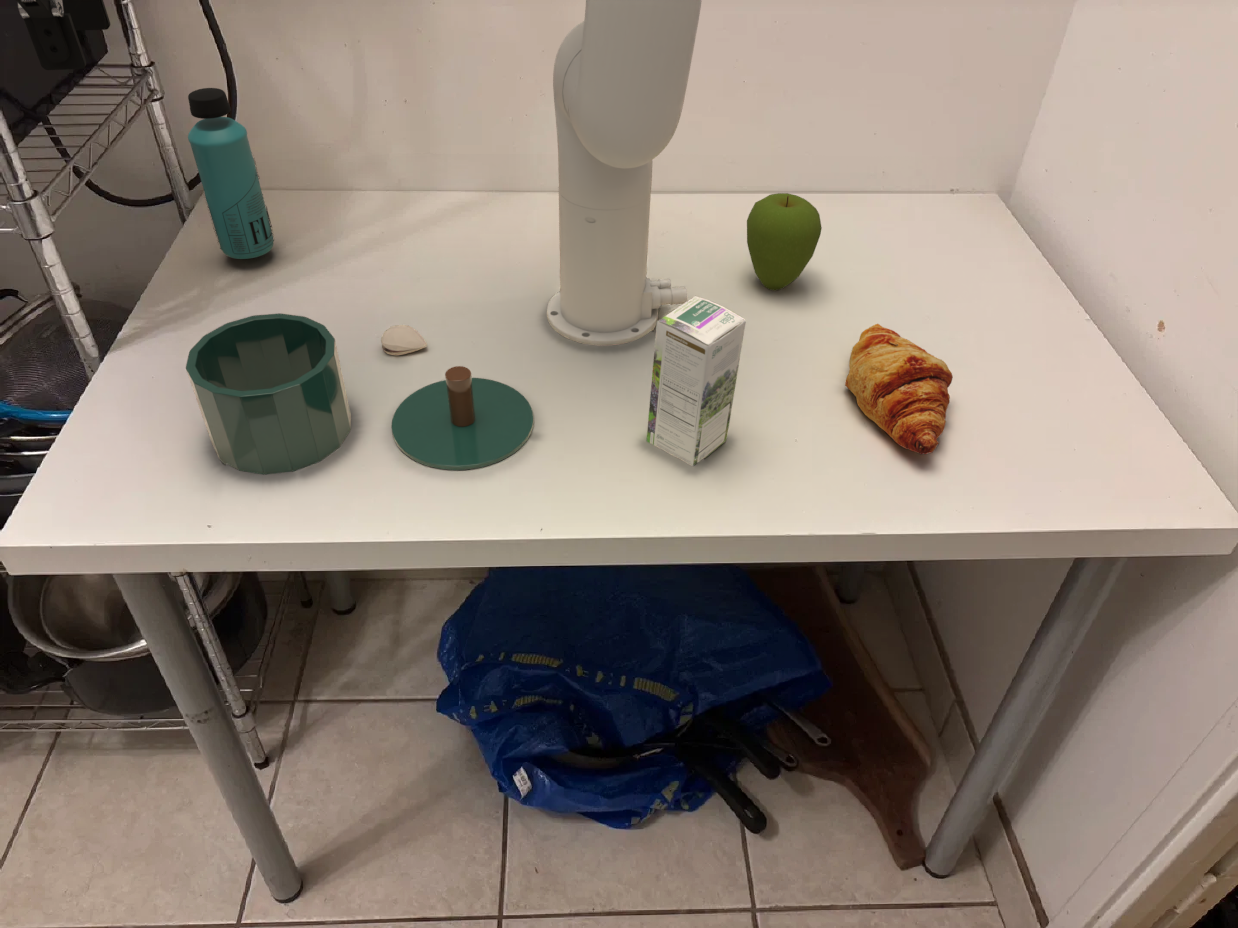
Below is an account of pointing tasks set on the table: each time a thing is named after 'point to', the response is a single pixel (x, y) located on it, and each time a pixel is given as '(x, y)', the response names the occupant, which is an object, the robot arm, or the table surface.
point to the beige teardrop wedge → (402, 340)
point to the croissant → (900, 387)
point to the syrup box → (694, 379)
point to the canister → (270, 392)
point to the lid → (462, 422)
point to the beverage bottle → (229, 177)
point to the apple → (782, 238)
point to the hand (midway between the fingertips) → (79, 47)
